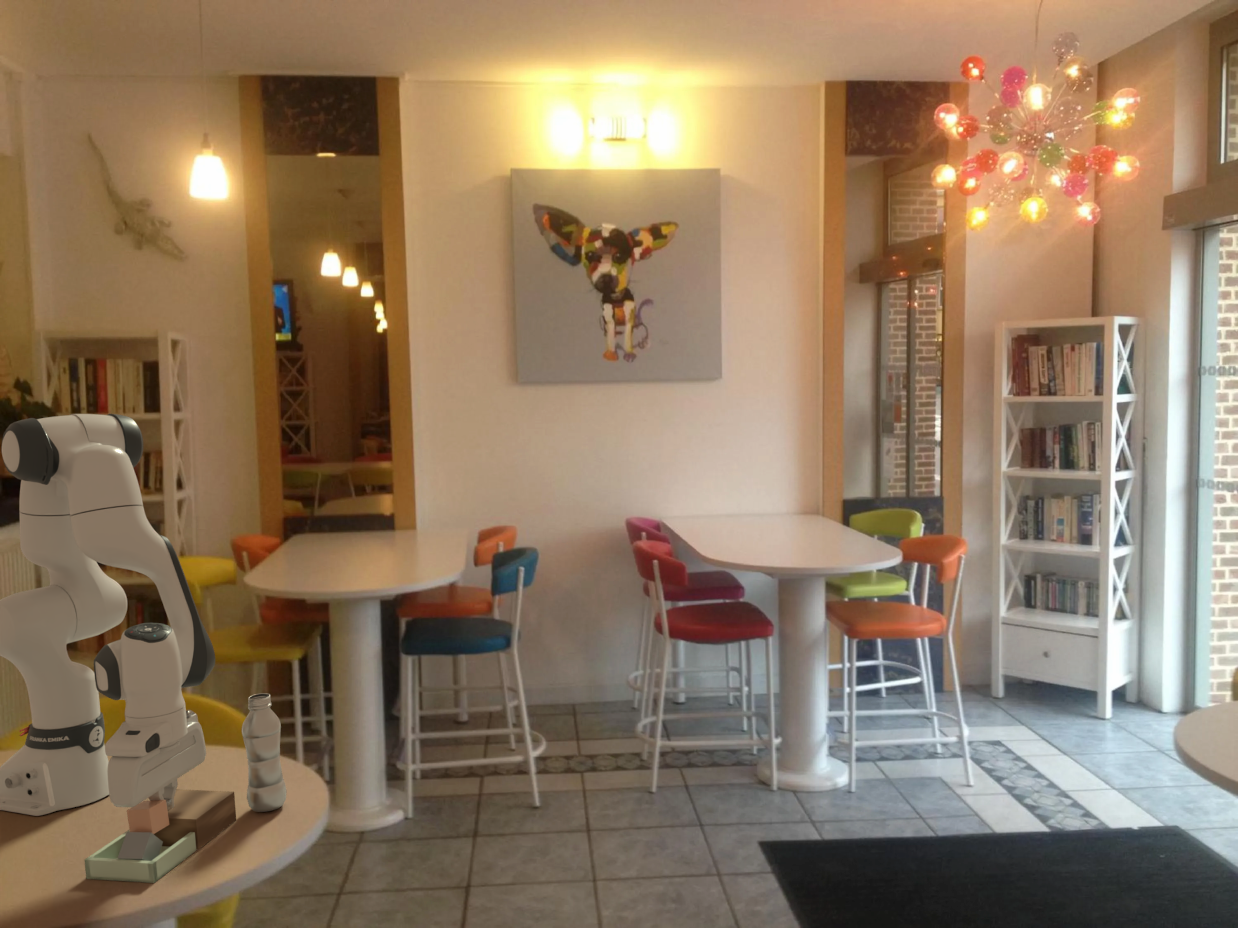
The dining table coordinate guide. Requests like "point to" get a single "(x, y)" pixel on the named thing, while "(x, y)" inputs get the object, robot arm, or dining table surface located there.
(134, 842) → the matte grey cube
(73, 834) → the dining table surface
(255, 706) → the plastic bottle
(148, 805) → the peach colored cube
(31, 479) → the robot arm
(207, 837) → the brown wooden block
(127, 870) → the tray
